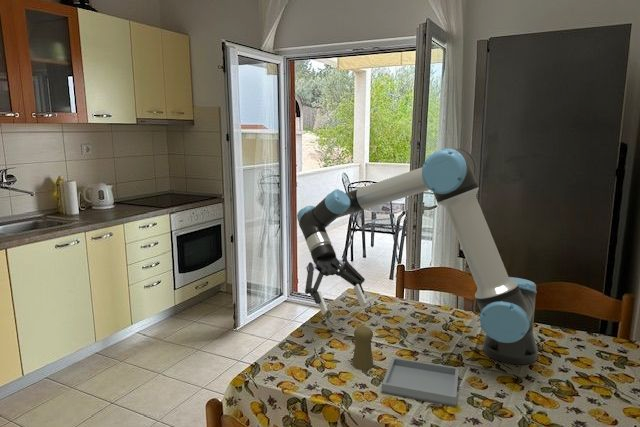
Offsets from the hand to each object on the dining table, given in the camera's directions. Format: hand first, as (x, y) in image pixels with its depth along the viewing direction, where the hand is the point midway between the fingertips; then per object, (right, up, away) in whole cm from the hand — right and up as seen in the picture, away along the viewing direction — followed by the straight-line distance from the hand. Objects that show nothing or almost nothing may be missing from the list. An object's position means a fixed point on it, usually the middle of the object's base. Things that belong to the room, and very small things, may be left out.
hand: (345, 308), depth 132 cm
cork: (+5, -15, -6) cm, 17 cm away
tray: (+19, -16, -16) cm, 30 cm away
